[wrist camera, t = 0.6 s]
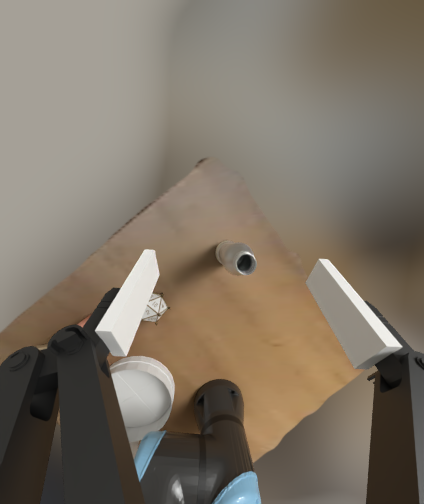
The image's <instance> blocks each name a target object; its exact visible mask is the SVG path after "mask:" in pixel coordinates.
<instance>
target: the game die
mask: <svg viewBox="0 0 424 504" xmlns="http://www.w3.org/2000/svg"><path fill="white" fill-rule="evenodd" d="M163 296H164V294H163V293H161V295H160V294H157V293H153V292H152V294H151V297H150V299H149V302H148V304H147V307H146V309H145V312H144V314H143V317H142V319H141V320H143V321H150V322H156V323H155V324H156V325H157V324H158V323H157V321H158V320H159V318H160V317H161V316H162V315H163V314H164V312H165V311H166V310H167V309H171V308H170V307H167V305H166V303H165V301H164V299H163ZM140 322H141V321H140Z"/></svg>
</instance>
